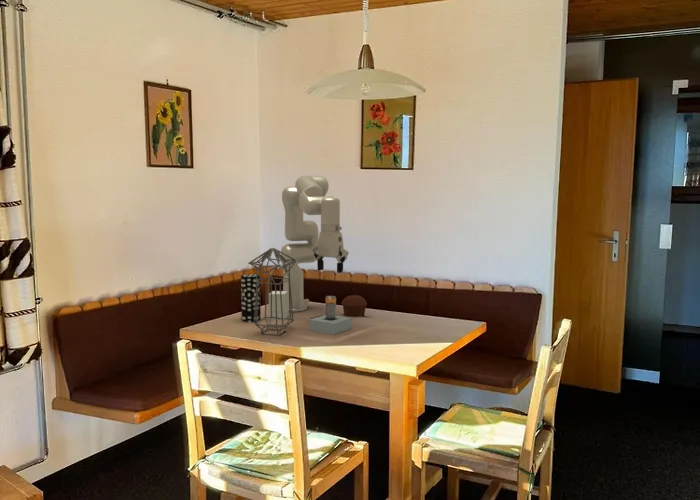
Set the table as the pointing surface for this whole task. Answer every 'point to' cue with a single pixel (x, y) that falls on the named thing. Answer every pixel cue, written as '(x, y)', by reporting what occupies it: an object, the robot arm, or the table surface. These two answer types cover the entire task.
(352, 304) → the muffin
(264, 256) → the geometric lantern
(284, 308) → the supplement box
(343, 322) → the socket
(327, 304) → the pin
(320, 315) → the mount
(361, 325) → the table surface
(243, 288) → the spotted tube
